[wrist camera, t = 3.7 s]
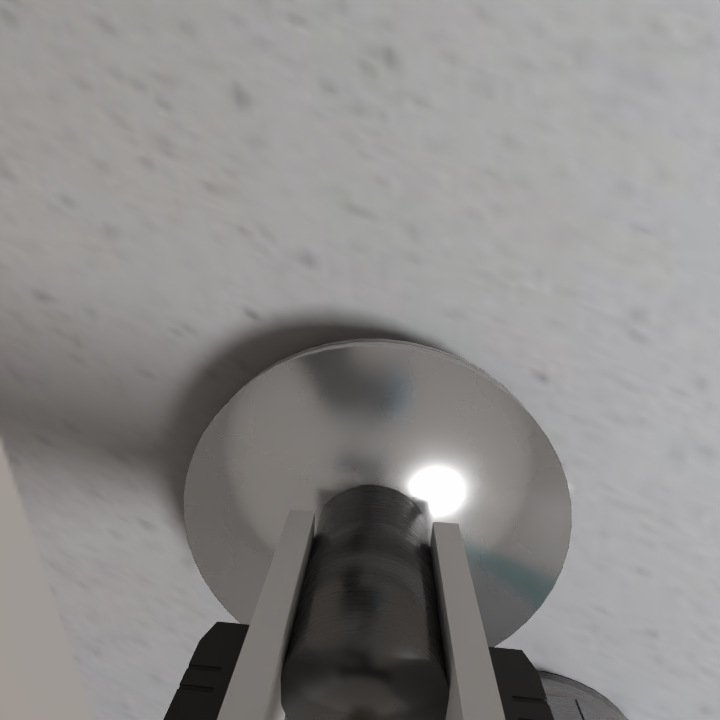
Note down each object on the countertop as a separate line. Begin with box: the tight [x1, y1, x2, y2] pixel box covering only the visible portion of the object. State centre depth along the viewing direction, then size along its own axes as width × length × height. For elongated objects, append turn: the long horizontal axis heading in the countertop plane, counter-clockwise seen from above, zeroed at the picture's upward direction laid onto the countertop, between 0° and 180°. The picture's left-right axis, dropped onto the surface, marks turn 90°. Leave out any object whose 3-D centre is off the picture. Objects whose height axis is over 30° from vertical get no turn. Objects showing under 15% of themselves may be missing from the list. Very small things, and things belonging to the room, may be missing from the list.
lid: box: [184, 339, 572, 720], centre depth 13 cm, size 13×13×7 cm
